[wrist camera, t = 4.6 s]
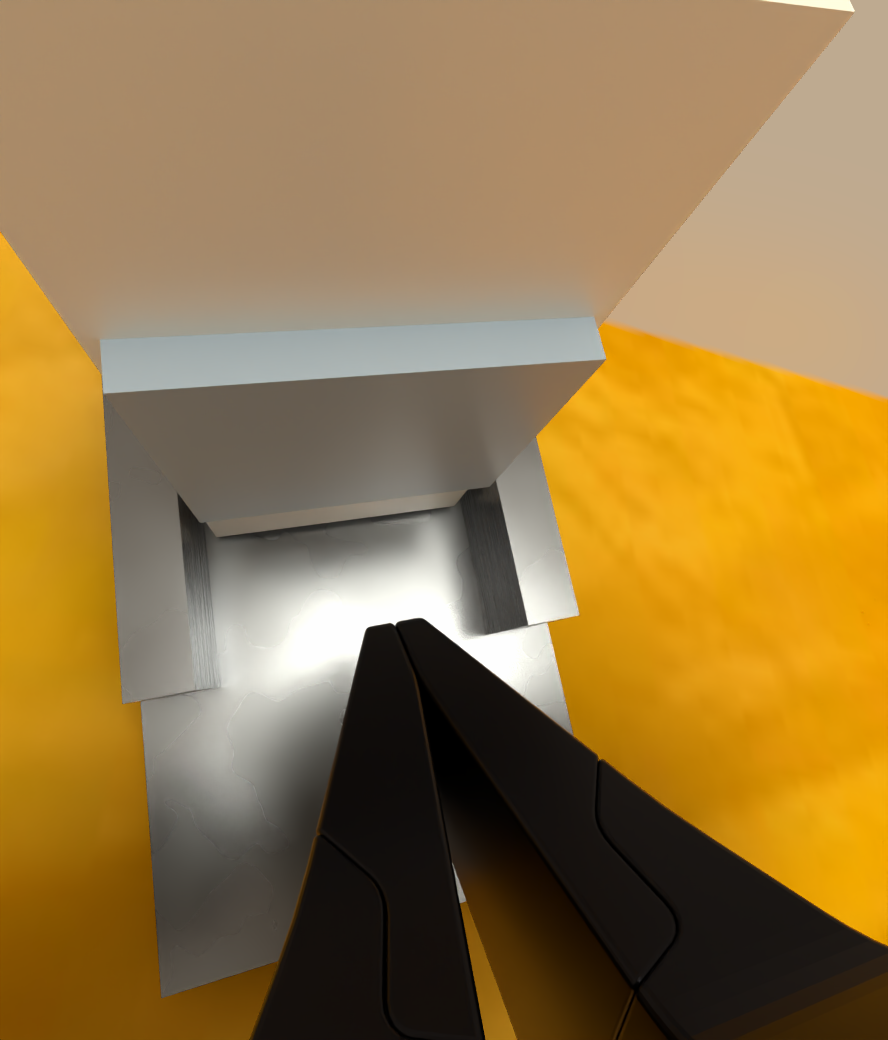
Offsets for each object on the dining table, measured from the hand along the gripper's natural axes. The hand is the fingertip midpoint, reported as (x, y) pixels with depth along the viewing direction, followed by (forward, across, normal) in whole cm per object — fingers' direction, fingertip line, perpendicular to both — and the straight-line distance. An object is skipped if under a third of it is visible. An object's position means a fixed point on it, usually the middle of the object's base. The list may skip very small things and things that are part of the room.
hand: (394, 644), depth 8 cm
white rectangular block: (+8, 0, 0) cm, 8 cm away
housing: (+6, 0, +4) cm, 7 cm away
